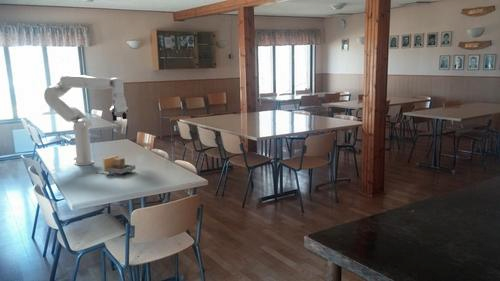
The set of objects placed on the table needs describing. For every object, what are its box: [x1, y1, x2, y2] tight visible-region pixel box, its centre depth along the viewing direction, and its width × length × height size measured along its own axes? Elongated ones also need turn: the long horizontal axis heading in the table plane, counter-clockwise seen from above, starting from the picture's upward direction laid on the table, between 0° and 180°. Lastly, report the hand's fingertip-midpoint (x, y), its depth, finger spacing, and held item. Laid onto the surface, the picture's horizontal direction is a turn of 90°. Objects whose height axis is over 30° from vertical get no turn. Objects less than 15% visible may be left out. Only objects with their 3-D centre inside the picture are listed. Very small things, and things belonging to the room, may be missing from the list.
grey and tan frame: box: [102, 154, 136, 175], centre depth 260 cm, size 14×13×9 cm
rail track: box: [96, 170, 137, 177], centre depth 263 cm, size 23×11×1 cm, turn 65°
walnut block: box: [113, 157, 126, 169], centre depth 260 cm, size 5×5×7 cm
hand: (119, 120), depth 288 cm, fingers open, 9 cm apart
